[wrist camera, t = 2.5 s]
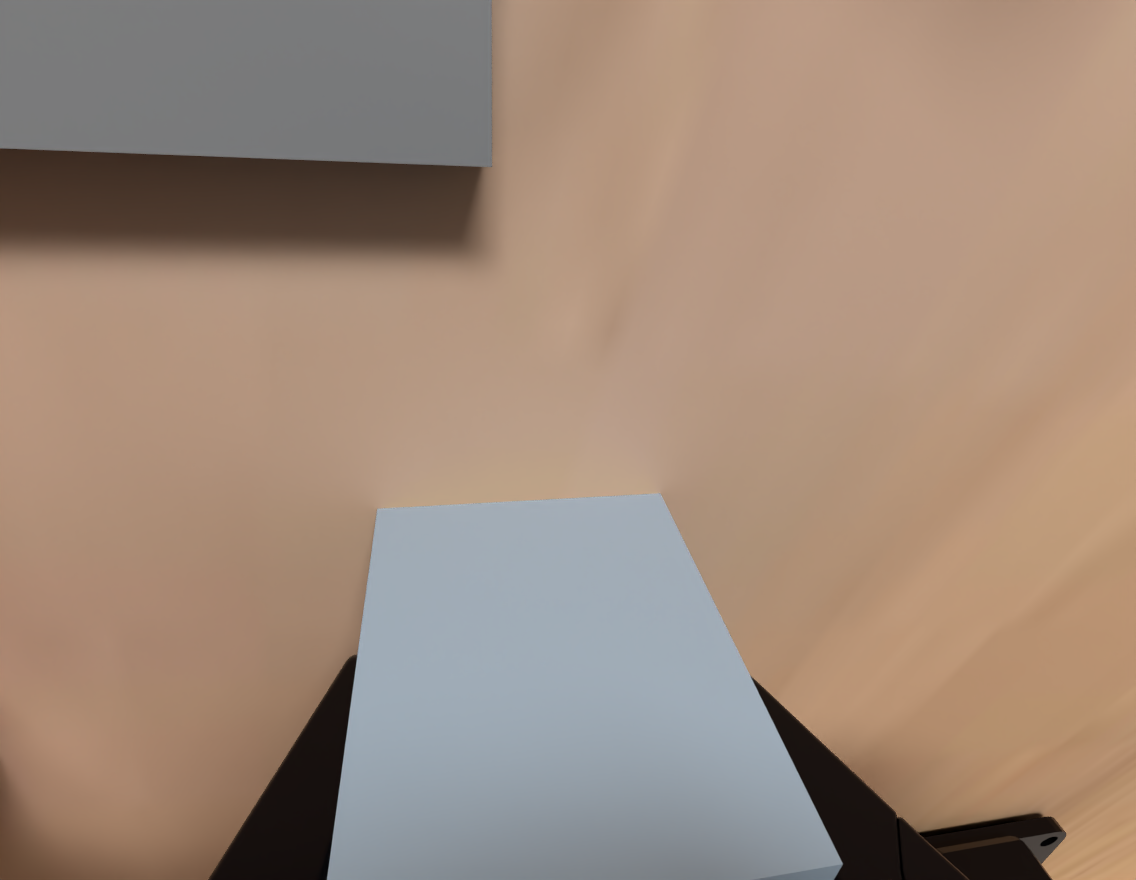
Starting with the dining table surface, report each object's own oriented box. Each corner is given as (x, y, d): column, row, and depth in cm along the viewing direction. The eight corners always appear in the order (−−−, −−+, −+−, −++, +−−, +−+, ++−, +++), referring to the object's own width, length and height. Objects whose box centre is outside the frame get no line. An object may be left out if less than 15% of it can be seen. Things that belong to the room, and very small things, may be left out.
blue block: (629, 672, 11) (741, 1040, 7) (400, 697, 11) (374, 1120, 6) (660, 493, 9) (842, 864, 5) (377, 508, 8) (317, 954, 4)
